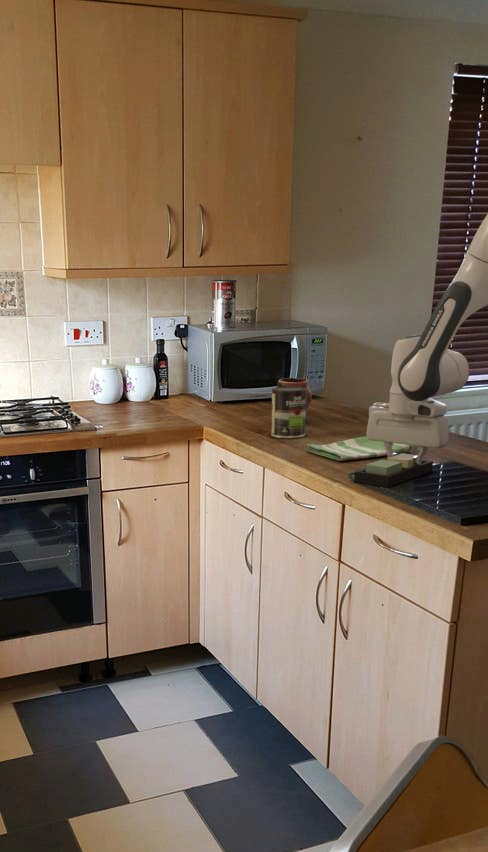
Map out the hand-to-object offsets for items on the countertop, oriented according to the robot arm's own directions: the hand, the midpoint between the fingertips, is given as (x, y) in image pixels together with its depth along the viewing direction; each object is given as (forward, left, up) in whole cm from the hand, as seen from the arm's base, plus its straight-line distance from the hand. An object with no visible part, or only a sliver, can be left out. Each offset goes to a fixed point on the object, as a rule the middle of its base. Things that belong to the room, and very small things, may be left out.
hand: (404, 462), depth 212 cm
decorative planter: (+66, -45, -3) cm, 80 cm away
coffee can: (+53, -25, -3) cm, 59 cm away
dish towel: (+22, -15, -3) cm, 27 cm away
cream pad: (0, 0, -2) cm, 2 cm away
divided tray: (0, +5, -3) cm, 5 cm away
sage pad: (0, +10, -2) cm, 10 cm away
